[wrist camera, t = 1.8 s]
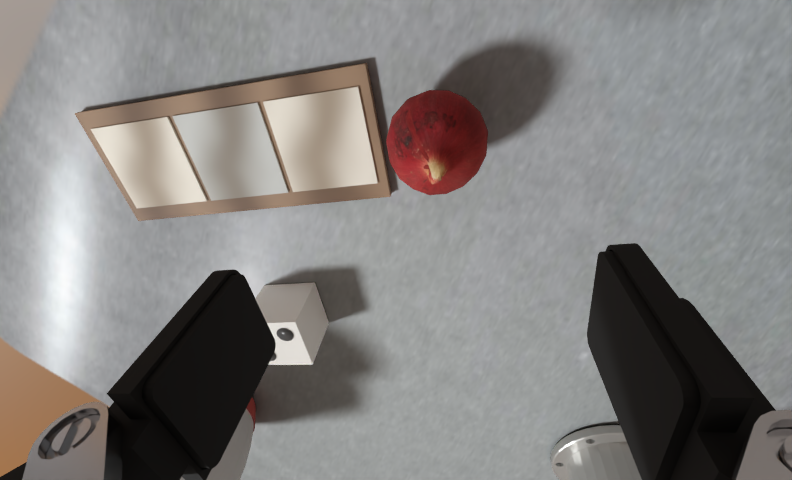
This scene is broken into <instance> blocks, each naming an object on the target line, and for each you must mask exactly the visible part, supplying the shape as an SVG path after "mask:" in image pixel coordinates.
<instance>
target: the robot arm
mask: <svg viewBox="0 0 792 480" xmlns="http://www.w3.org/2000/svg"><path fill="white" fill-rule="evenodd" d="M587 338H588V344H589V347H590V350H591V352H592V355H593V357H594V360H595V363H596V365H597V368H598V370H599V373H600V375H601V378H602V380H603V383H604V385H605V388H606V390H607V393H608V395H609V398H610V401H611V403H612V406H613V408H614V411H615V413H616V416H617V418H618V421H619V423H620V425H605V426H596V427H591V428H586V429H583V430H580V431H576V432H574V433H572V434H570V435H568V436H566V437H565V438H563V439H562V440H560V441H559V442H558V443H557V444H556V445H555V446H554V448H553V450H552V452H551V456H550V459H551V465H552V469H553V471H554V474H555V475H556V476H557V477H558V479H560V480H792V411H791V410H778V411H776V410H775V409H774V408H773V406H772V405H771V404H770V402H769V401H768V400H767V399H766V397H765V396H764V395H763V394H762V392H761V391H760V390H759V388H758V387H757V386H756V385H755V383H754V382H753V381H752V380H751V378H750V377H749V376H748V374H747V373H746V372H745V371H744V369H743V368H742V367H741V366H740V364H739V363H738V362H737V360H736V359H735V358H734V357H733V355H732V354H731V353H730V352H729V350H728V349H727V348H726V346H725V345H724V344H723V343H722V341H721V340H720V339H719V338H718V336H717V335H716V334H715V332H714V331H713V330H712V329H711V327H710V326H709V325H708V324H707V322H706V321H705V320H704V318H703V317H702V316H701V315H700V313H699V312H698V311H697V310H696V308H695V307H694V306H693V305H692V304H691V303H690V302H689V301H688V300H686V299H684V298H679V297H678V296H677V295H676V293H675V292H674V291H673V289H672V288H671V287H670V285H669V284H668V283H667V281H666V280H665V279H664V278H663V276H662V275H661V274H660V272H659V271H658V270H657V268H656V267H655V266H654V264H653V263H652V262H651V260H650V259H649V258H648V256H647V255H646V254H645V252H644V251H643V250H642V248H641V247H640V246H639V245H638V244H635V243H634V244H618V245H609V246H608V247H607V249H606V251H605V252H599V254H598V259H597V266H596V273H595V280H594V288H593V295H592V302H591V309H590V316H589V323H588V330H587ZM275 347H276V343H275V339H274V337H273V335H272V333H271V331H270V329H269V326H268V324H267V322H266V320H265V318H264V316H263V314H262V312H261V310H260V308H259V305H258V303H257V301H256V299H255V297H254V295H253V293H252V291H251V289H250V287H249V284H248V282H247V280H246V278H245V277H244V276H243V275H241V274H240V273H239V272H238V271H237V270H221V271H214V272H213V273H212V274H211V275H210V276H209V277H208V278H207V279H206V280H205V281H204V283H203V284H202V285H201V286H200V287H199V288H198V290H197V291H196V292H195V293H194V294H193V295H192V296H191V298H190V299H189V300H188V301H187V302H186V303H185V304H184V306H183V307H182V308H181V309H180V310H179V311H178V312H177V314H176V315H175V316H174V317H173V318H172V319H171V321H170V322H169V323H168V324H167V325H166V326H165V327H164V329H163V330H162V331H161V332H160V333H159V334H158V335H157V337H156V338H155V339H154V340H153V341H152V342H151V343H150V345H149V346H148V347H147V348H146V349H145V350H144V352H143V353H142V354H141V355H140V356H139V357H138V358H137V360H136V361H135V362H134V363H133V364H132V365H131V366H130V368H129V369H128V370H127V371H126V372H125V373H124V374H123V376H122V377H121V378H120V379H119V380H118V381H117V383H116V384H115V385H114V386H113V387H112V388H111V389H110V391H109V392H108V393H107V394H108V395H109V397H110V398H111V399H112V400H113V401H114V403H113V404H112V405H111V406H110V408H108V407H107V406H106V405H105V404H103V403H101V402H91V403H86V404H83V405H81V406H78V407H76V408H74V409H72V410H70V411H69V412H67V413H65V414H63V415H62V416H61V417H59V418H58V419H57V420H55V421H54V422H53V423H51V424H50V425H49V426H48V427H47V429H45V430H44V431H43V432H42V433H41V434H40V436H39V437H38V438H37V440H36V441H35V443H34V444H33V446H32V448H31V450H30V452H29V456H28V459H27V462H26V463H24V464H23V465H21V466H19V467H17V468H15V469H14V470H12V471H10V472H8V473H7V474H5V475H3V476H1V477H0V480H180V479H181V477H183V478H184V479H185V480H206V479H207V477H208V475H209V473H210V472H211V470H212V468H214V467H216V466H217V465H218V463H219V462H220V460H221V458H222V456H223V454H224V452H225V450H226V448H227V446H228V444H229V442H230V440H231V438H232V436H233V434H234V432H235V430H236V428H237V426H238V424H239V422H240V420H241V418H242V416H243V414H244V412H245V410H246V408H247V406H248V404H249V402H250V400H251V398H252V396H253V394H254V392H255V390H256V388H257V386H258V384H259V382H260V380H261V378H262V376H263V374H264V372H265V370H266V368H267V366H268V364H269V362H270V360H271V358H272V356H273V354H274V352H275Z"/></svg>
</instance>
